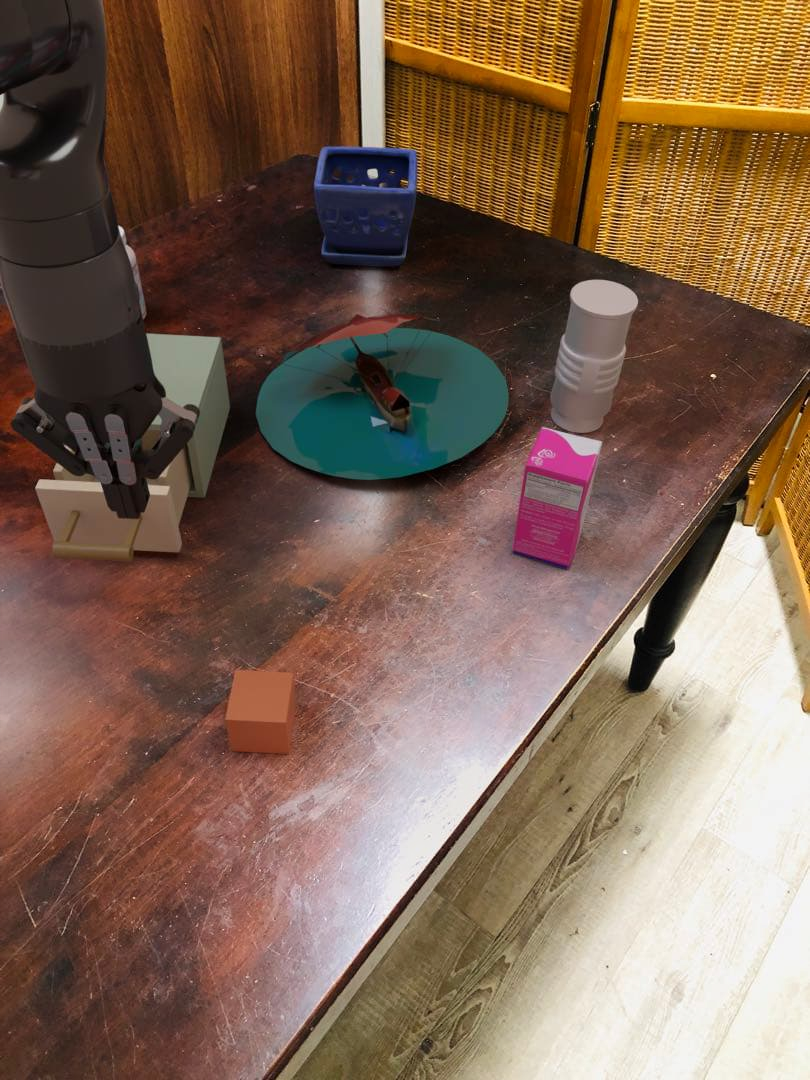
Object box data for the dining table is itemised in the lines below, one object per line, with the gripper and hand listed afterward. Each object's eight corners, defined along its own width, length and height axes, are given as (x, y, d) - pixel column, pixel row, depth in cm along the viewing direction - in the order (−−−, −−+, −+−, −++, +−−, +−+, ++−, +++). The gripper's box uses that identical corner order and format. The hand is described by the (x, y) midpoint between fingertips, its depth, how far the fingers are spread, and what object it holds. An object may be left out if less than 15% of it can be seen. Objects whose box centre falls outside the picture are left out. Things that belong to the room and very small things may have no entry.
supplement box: (525, 514, 87) (542, 423, 79) (583, 531, 86) (607, 441, 78) (508, 553, 84) (524, 462, 75) (568, 572, 82) (592, 481, 74)
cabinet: (204, 498, 87) (192, 426, 81) (77, 491, 87) (55, 418, 81) (230, 407, 97) (221, 337, 91) (116, 401, 97) (99, 330, 91)
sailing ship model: (444, 318, 112) (442, 235, 104) (554, 442, 93) (562, 352, 85) (230, 376, 105) (211, 292, 97) (302, 523, 86) (286, 432, 78)
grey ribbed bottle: (544, 431, 97) (567, 311, 86) (548, 393, 101) (571, 275, 91) (607, 440, 96) (639, 320, 85) (608, 402, 101) (638, 284, 90)
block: (231, 751, 68) (224, 719, 65) (240, 701, 71) (235, 669, 68) (289, 754, 68) (286, 722, 65) (296, 704, 71) (293, 672, 68)
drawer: (166, 596, 77) (152, 538, 72) (37, 589, 77) (13, 531, 72) (207, 457, 90) (198, 399, 85) (96, 451, 90) (80, 393, 85)
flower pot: (313, 272, 118) (310, 185, 110) (323, 225, 127) (321, 142, 119) (412, 277, 118) (416, 191, 110) (415, 230, 128) (419, 147, 119)
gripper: (-56, 337, 51) (28, 543, 64) (170, 345, 51) (210, 550, 64) (-10, 272, 57) (60, 475, 69) (195, 280, 57) (228, 481, 69)
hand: (132, 511), depth 66 cm, fingers closed
